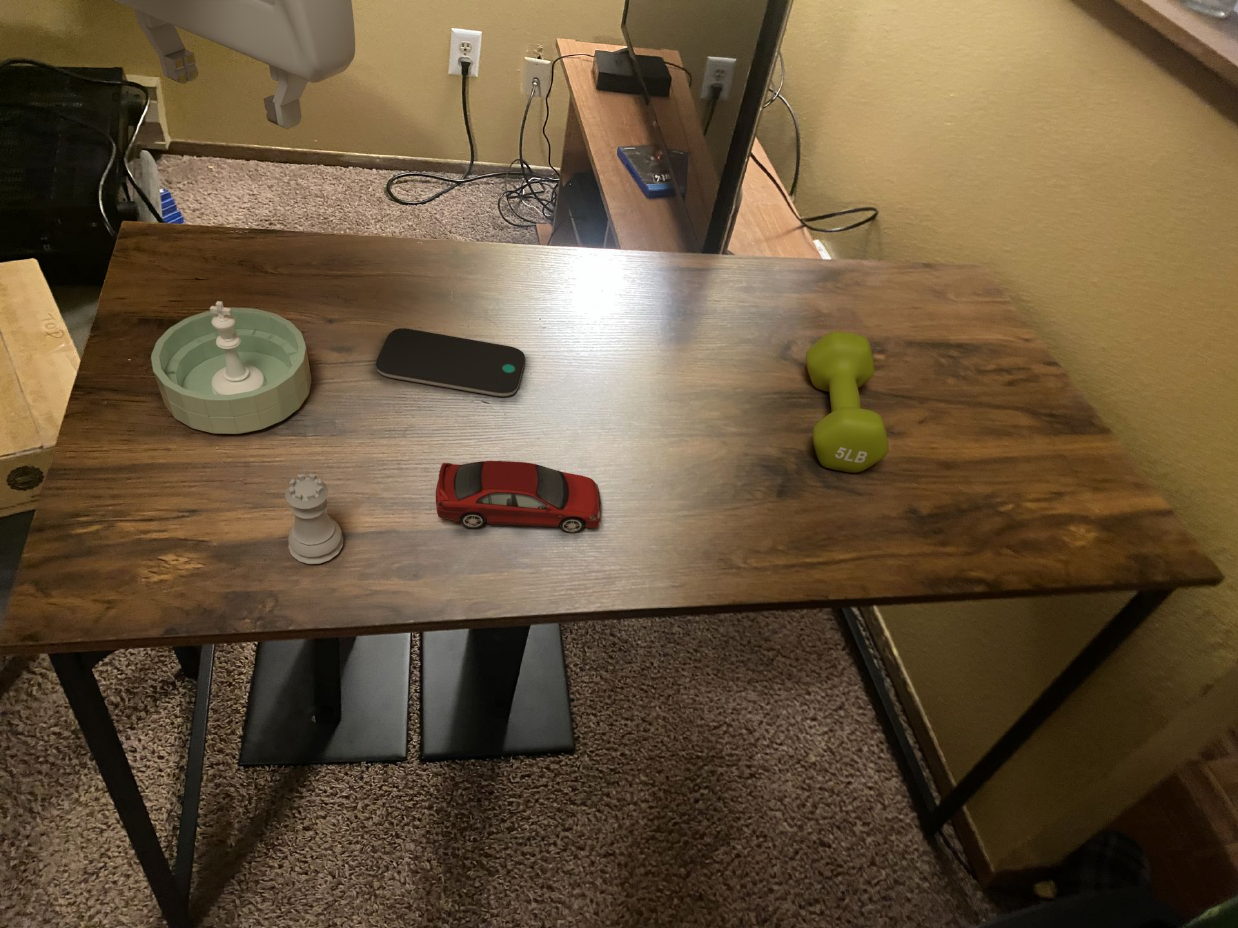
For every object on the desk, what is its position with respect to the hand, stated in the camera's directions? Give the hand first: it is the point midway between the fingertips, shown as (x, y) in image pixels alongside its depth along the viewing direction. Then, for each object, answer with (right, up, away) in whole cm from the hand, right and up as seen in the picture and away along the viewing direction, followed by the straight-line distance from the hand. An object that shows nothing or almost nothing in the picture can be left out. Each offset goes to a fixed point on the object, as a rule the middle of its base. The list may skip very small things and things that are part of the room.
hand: (232, 100), depth 59 cm
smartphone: (+9, -15, +31) cm, 36 cm away
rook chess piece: (+1, -33, +13) cm, 35 cm away
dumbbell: (+51, -21, +34) cm, 65 cm away
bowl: (-10, -18, +24) cm, 32 cm away
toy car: (+18, -30, +19) cm, 40 cm away
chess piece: (-10, -18, +24) cm, 31 cm away
